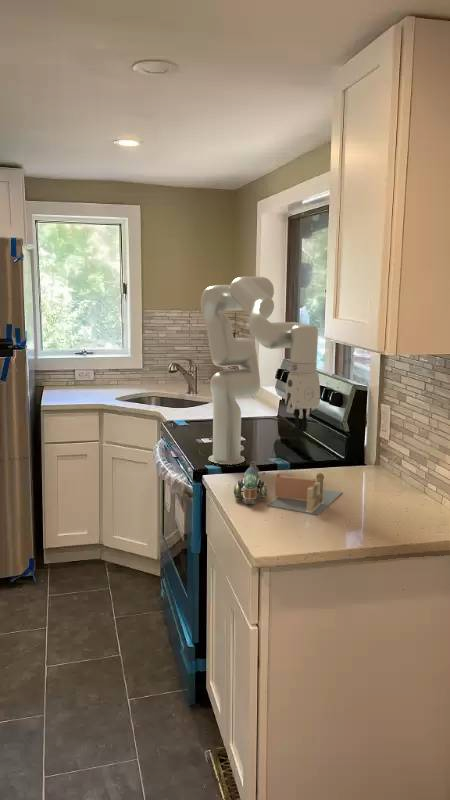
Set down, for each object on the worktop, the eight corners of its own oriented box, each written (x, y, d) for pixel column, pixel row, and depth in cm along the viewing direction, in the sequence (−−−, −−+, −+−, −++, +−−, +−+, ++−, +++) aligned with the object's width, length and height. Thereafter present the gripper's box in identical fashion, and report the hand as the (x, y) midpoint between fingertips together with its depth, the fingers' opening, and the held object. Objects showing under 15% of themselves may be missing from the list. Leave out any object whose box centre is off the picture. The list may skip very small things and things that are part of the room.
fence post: (316, 501, 183) (317, 471, 181) (324, 502, 182) (325, 472, 180) (304, 512, 175) (305, 481, 173) (312, 513, 174) (313, 482, 172)
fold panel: (313, 499, 183) (314, 476, 181) (313, 500, 181) (314, 477, 180) (276, 495, 186) (276, 472, 184) (275, 496, 185) (275, 473, 183)
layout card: (294, 484, 198) (295, 483, 197) (342, 493, 191) (342, 491, 191) (267, 505, 179) (267, 504, 179) (318, 515, 172) (318, 514, 172)
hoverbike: (232, 506, 179) (232, 477, 178) (238, 478, 204) (238, 453, 202) (266, 507, 178) (267, 479, 177) (268, 480, 203) (269, 454, 201)
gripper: (292, 372, 176) (290, 437, 179) (331, 368, 184) (328, 430, 188) (274, 368, 181) (272, 431, 185) (312, 364, 190) (310, 425, 194)
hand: (300, 430), depth 186 cm, fingers closed
